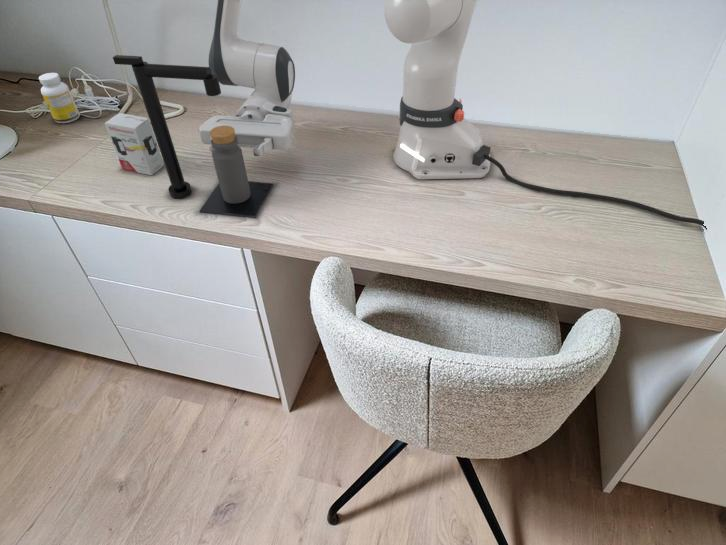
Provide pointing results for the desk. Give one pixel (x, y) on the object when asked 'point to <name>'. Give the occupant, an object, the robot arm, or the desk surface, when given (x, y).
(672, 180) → the desk surface
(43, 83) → the pill bottle
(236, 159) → the bottle
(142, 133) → the ink box
